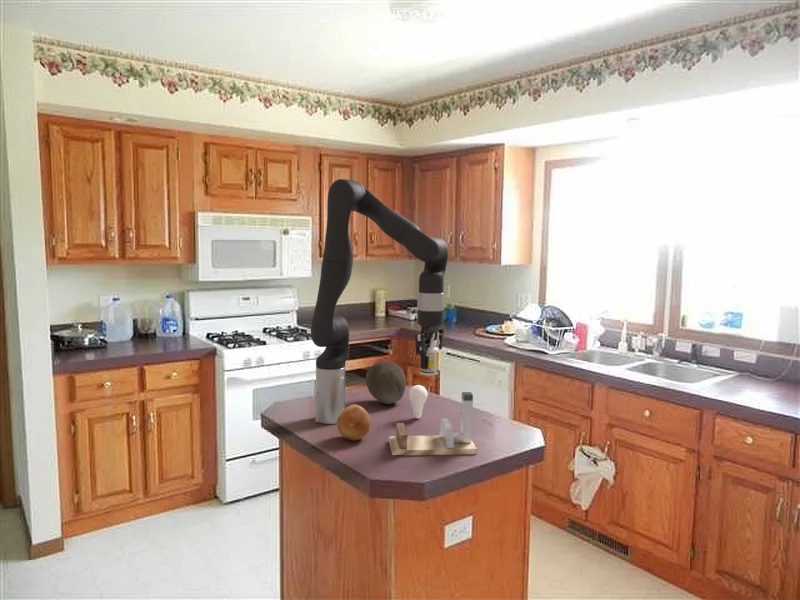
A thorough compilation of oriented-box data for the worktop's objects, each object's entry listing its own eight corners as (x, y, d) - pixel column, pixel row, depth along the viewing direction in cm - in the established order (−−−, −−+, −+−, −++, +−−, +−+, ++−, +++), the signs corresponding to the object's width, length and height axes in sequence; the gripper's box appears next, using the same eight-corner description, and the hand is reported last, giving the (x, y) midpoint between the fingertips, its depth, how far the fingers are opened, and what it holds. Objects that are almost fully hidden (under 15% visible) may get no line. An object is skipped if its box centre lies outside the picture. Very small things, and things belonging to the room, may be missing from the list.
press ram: (446, 447, 156) (447, 398, 155) (439, 435, 166) (441, 389, 165) (474, 447, 157) (475, 398, 156) (466, 434, 167) (467, 388, 165)
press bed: (392, 455, 154) (392, 435, 154) (388, 441, 165) (389, 422, 165) (476, 454, 157) (477, 434, 156) (468, 440, 168) (468, 421, 167)
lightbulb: (427, 416, 189) (428, 383, 188) (426, 422, 183) (427, 388, 182) (409, 415, 190) (409, 382, 189) (407, 421, 184) (408, 387, 183)
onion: (332, 435, 169) (332, 402, 168) (363, 431, 173) (364, 399, 172) (342, 446, 160) (343, 411, 159) (376, 442, 164) (376, 408, 163)
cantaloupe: (404, 397, 211) (405, 357, 209) (406, 409, 197) (407, 366, 195) (365, 397, 210) (366, 357, 209) (365, 409, 196) (365, 365, 195)
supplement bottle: (430, 370, 169) (431, 337, 168) (442, 374, 165) (443, 340, 164) (415, 372, 166) (416, 339, 165) (427, 376, 162) (428, 342, 161)
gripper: (431, 312, 156) (429, 373, 157) (453, 307, 168) (451, 364, 170) (406, 309, 159) (405, 370, 161) (430, 305, 172) (428, 361, 174)
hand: (429, 366), depth 166 cm, fingers closed on supplement bottle, 5 cm apart
